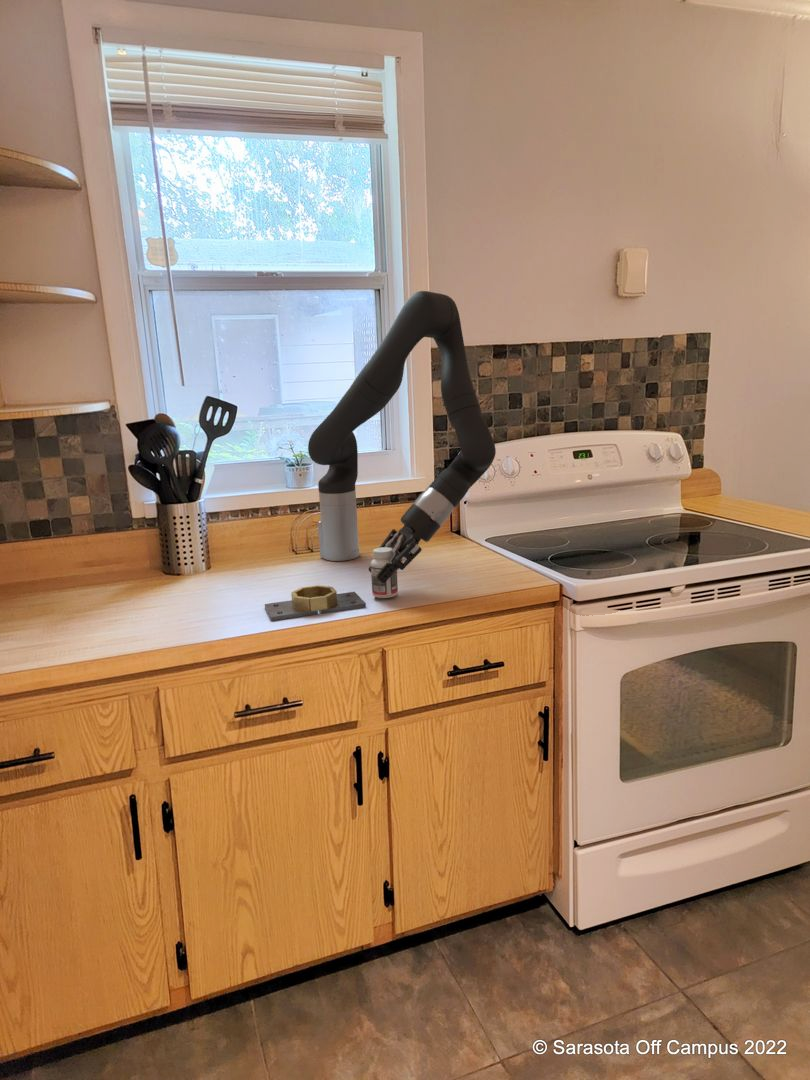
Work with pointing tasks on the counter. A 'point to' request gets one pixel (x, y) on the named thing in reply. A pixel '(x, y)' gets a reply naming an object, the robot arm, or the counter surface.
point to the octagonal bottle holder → (313, 603)
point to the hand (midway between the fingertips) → (375, 576)
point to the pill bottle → (377, 564)
